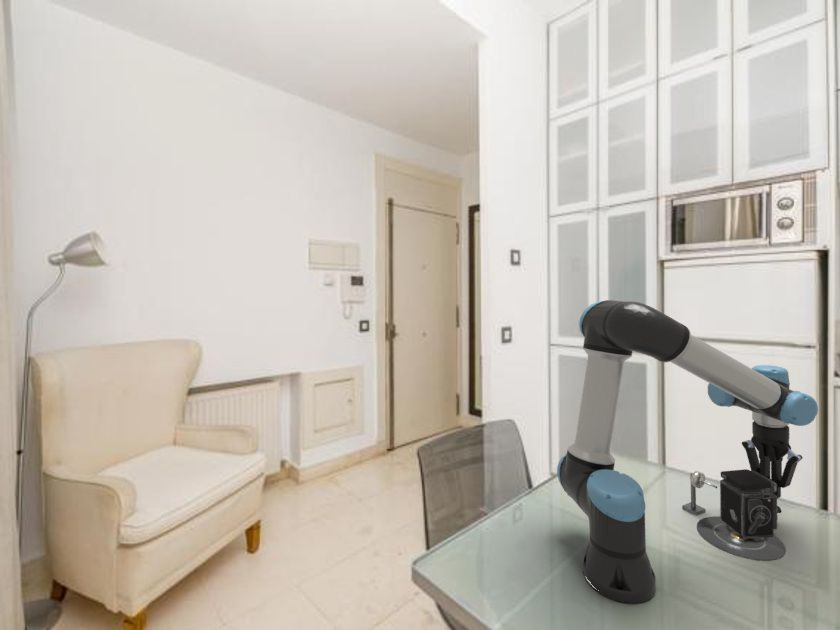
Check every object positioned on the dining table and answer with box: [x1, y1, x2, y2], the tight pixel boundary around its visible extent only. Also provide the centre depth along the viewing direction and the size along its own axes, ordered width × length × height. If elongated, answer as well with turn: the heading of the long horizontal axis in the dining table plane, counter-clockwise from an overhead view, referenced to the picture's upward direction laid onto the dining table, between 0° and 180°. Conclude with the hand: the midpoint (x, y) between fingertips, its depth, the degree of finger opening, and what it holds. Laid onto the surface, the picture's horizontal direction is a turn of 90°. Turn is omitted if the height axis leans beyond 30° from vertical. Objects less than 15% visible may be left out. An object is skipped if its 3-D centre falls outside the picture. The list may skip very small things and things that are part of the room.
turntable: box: [696, 515, 786, 562], centre depth 103 cm, size 18×18×1 cm
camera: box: [719, 468, 782, 539], centre depth 105 cm, size 10×10×15 cm
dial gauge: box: [681, 470, 718, 516], centre depth 114 cm, size 4×8×12 cm, turn 21°
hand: (771, 507), depth 108 cm, fingers closed
